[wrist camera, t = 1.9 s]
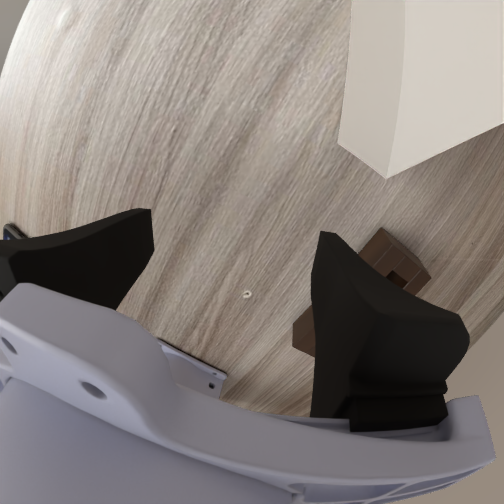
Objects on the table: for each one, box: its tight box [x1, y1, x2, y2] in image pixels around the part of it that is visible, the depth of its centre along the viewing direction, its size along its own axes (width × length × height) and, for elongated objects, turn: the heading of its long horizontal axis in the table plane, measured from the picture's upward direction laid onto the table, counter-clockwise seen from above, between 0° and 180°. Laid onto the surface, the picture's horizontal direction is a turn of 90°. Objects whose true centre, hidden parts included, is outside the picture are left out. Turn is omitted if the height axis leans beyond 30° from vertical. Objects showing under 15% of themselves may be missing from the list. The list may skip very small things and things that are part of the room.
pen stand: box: [292, 228, 431, 357], centre depth 22 cm, size 5×12×3 cm, turn 149°
